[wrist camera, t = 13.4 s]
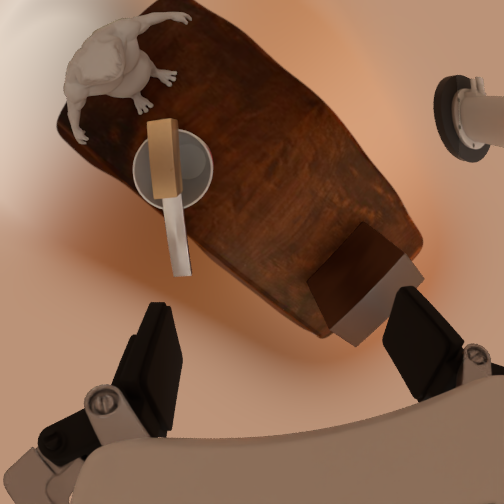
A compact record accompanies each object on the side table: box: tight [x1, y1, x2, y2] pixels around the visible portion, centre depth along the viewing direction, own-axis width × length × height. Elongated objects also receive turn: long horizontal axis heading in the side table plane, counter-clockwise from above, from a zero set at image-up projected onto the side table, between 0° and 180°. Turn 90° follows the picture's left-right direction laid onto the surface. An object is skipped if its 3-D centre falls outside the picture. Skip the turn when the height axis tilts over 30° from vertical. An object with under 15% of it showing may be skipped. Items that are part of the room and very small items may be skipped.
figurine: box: [64, 12, 192, 144], centre depth 21 cm, size 18×7×18 cm, turn 137°
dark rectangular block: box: [307, 222, 424, 347], centre depth 36 cm, size 13×6×12 cm, turn 140°
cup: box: [133, 129, 213, 209], centre depth 29 cm, size 8×8×10 cm
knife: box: [147, 118, 192, 277], centre depth 24 cm, size 16×2×3 cm, turn 2°
